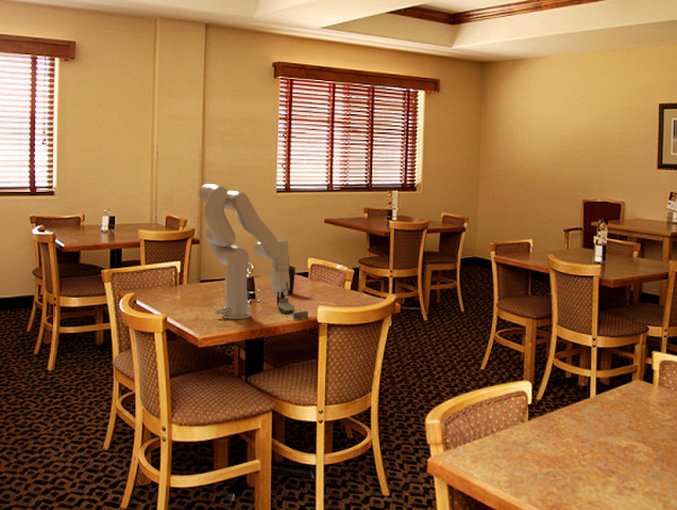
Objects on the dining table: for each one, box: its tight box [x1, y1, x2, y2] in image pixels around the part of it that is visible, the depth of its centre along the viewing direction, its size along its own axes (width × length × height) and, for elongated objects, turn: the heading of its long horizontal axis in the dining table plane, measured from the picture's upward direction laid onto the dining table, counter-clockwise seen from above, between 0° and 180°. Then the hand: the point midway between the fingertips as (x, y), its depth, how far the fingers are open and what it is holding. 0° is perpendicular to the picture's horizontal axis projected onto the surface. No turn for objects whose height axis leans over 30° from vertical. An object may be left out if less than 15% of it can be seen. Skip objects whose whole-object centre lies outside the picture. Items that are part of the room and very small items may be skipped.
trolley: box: [277, 297, 295, 314], centre depth 317 cm, size 7×6×6 cm
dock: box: [285, 310, 309, 320], centre depth 310 cm, size 7×10×3 cm
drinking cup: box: [288, 265, 297, 295], centre depth 356 cm, size 8×8×20 cm
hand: (280, 305), depth 321 cm, fingers closed
